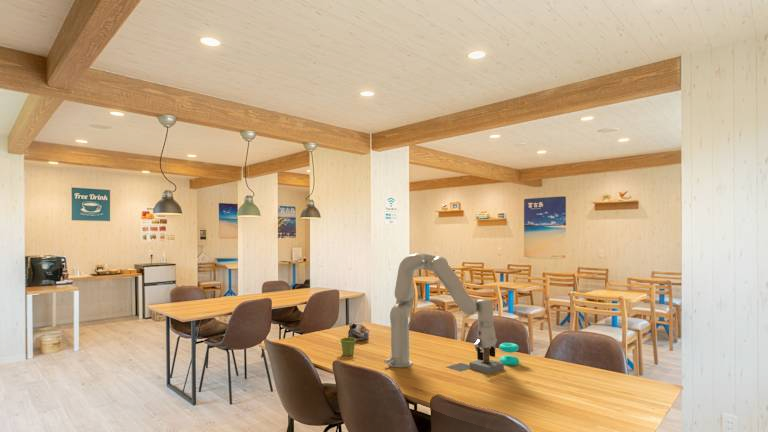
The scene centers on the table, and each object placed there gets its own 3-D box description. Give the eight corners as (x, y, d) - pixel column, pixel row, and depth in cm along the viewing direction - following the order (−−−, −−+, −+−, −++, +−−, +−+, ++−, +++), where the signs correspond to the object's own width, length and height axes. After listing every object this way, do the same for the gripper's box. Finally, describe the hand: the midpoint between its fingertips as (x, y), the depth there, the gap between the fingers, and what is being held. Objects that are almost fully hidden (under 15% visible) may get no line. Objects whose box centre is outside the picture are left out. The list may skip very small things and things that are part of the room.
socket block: (489, 375, 213) (489, 367, 214) (469, 369, 223) (469, 362, 223) (503, 370, 221) (503, 363, 221) (484, 365, 230) (484, 358, 230)
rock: (372, 337, 297) (374, 321, 291) (364, 348, 287) (366, 331, 281) (352, 330, 302) (353, 313, 296) (343, 340, 291) (345, 323, 285)
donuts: (498, 341, 239) (517, 342, 237) (499, 360, 238) (518, 361, 236) (499, 346, 229) (519, 347, 227) (500, 365, 229) (520, 366, 227)
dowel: (487, 371, 220) (486, 348, 220) (482, 369, 222) (481, 347, 223) (490, 369, 222) (490, 347, 222) (486, 368, 224) (485, 346, 224)
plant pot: (357, 352, 258) (357, 337, 259) (354, 357, 249) (354, 341, 249) (341, 352, 259) (341, 337, 260) (338, 356, 250) (338, 341, 250)
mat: (460, 372, 218) (460, 371, 218) (445, 367, 226) (445, 367, 226) (475, 367, 226) (475, 366, 226) (460, 363, 233) (460, 362, 233)
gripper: (480, 327, 215) (481, 362, 214) (502, 322, 226) (503, 356, 225) (468, 325, 220) (469, 359, 219) (490, 320, 231) (490, 353, 230)
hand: (486, 358), depth 222 cm, fingers open, 9 cm apart
